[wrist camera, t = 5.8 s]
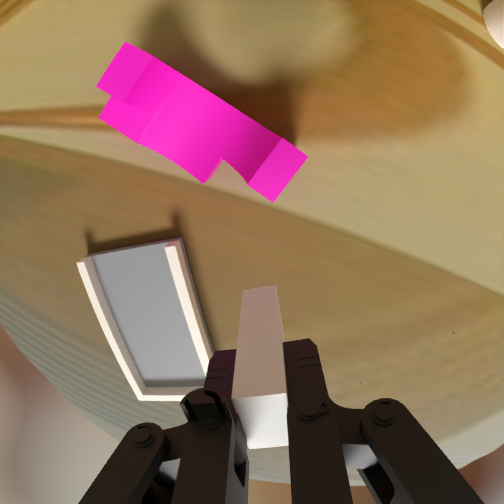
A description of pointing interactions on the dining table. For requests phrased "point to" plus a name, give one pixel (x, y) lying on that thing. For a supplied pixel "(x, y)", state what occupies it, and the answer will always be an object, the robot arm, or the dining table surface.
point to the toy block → (192, 124)
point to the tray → (150, 316)
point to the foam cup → (495, 20)
